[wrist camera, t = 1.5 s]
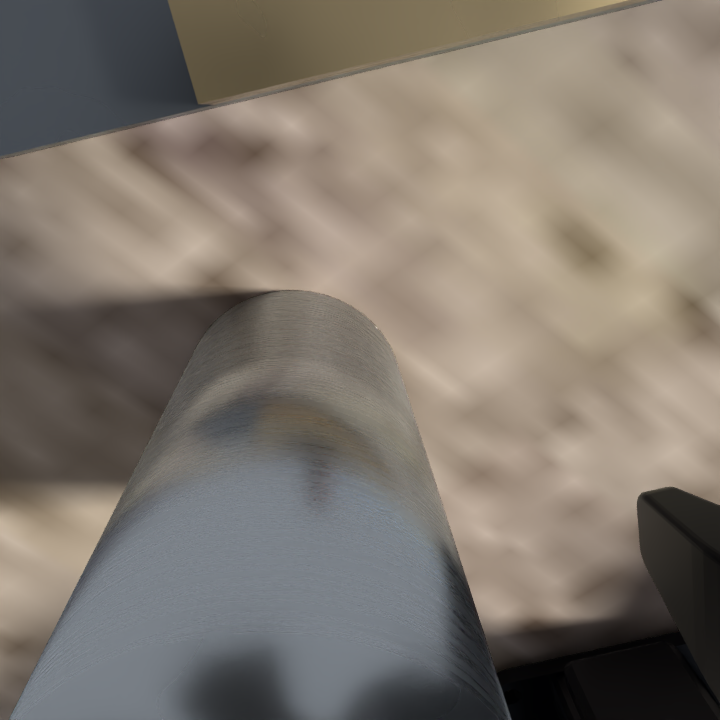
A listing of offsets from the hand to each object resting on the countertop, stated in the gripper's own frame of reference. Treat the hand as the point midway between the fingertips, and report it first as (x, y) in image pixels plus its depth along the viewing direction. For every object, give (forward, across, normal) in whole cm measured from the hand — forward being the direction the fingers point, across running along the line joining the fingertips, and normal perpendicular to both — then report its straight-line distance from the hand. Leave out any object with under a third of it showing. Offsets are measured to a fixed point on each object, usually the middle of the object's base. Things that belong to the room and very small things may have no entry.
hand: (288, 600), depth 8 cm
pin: (+6, 0, 0) cm, 6 cm away
